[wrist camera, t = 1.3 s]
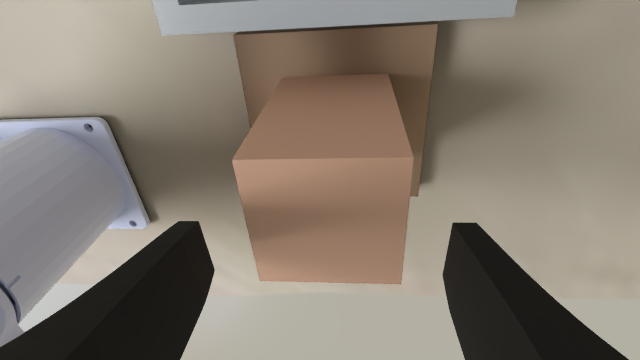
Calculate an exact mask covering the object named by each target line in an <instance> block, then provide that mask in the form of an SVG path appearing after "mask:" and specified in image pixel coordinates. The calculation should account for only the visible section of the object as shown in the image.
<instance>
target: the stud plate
mask: <svg viewBox="0 0 640 360" xmlns="http://www.w3.org/2000/svg"><path fill="white" fill-rule="evenodd" d="M437 28H438V24H437V23H436V22H434V21H425V22H407V23H388V24H370V25H351V26H333V27H314V28H296V29H277V30H259V31H240V32H237V33H236V34H234V35H233V36H234V41H235V47H236V52H237V58H238V63H239V68H240V74H241V79H242V84H243V90H244V95H245V100H246V106H247V111H248V116H249V122H250V127H252V126H253V124H254V123H255V121H256V119H257V118H258V116H259V114H260V113H261V111H262V110H263V108H264V106H265V105H266V103H267V101H268V100H269V98H270V97H271V95H272V93H273V92H274V90H275V88H276V87H277V85H278V83H279V82H280V80H281V79H282V78H286V77H312V76H337V75H363V74H388V75H389V78H390V81H391V85H392V88H393V91H394V95H395V98H396V101H397V104H398V108H399V111H400V114H401V118H402V121H403V124H404V127H405V131H406V134H407V137H408V140H409V144H410V147H411V150H412V154H413V157H414V159H413V169H412V179H411V189H410V196H418V193H419V184H420V175H421V167H422V158H423V149H424V141H425V132H426V124H427V115H428V106H429V98H430V89H431V80H432V72H433V63H434V54H435V46H436V37H437Z"/></svg>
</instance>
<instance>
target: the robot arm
mask: <svg viewBox="0 0 640 360" xmlns="http://www.w3.org/2000/svg"><path fill="white" fill-rule="evenodd" d="M88 124H90V125H91V126H92V127H93V129H92V128H90V126H89V125H88ZM134 221H135V222H134ZM149 224H150V220H149V218H148V215H147V213H146V211H145V208H144V206H143V204H142V201H141V199H140V197H139V195H138V192H137V190H136V188H135V185H134V183H133V181H132V178H131V176H130V174H129V171H128V169H127V167H126V164H125V162H124V160H123V157H122V155H121V153H120V150H119V148H118V146H117V143H116V141H115V139H114V136H113V134H112V132H111V129H110V127H109V125H108V123H107V122H106V121H105V120H104V119H102V118H100V117H77V118H41V119H6V120H0V360H180V358H181V356H182V354H183V352H184V350H185V347H186V345H187V343H188V341H189V338H190V336H191V334H192V332H193V330H194V327H195V325H196V323H197V320H198V318H199V316H200V313H201V311H202V309H203V306H204V304H205V301H206V298H207V295H208V292H209V289H210V285H211V282H212V278H213V275H214V271H215V270H214V267H213V264H212V260H211V257H210V254H209V251H208V248H207V245H206V242H205V239H204V236H203V233H202V230H201V227H200V224H199V221H178V222H177V223H176V224H174V225H173V226H171V227H170V228H169V229H167V230H166V231H165V232H163V233H162V234H161V235H160V236H158V237H157V238H156V239H154V240H153V241H152V242H151V243H149V244H148V245H147V246H146V247H144V248H143V249H142V250H141V251H139V252H138V253H137V254H135V255H134V256H133V257H132V258H130V259H129V260H128V261H126V262H125V263H124V264H123V265H121V266H120V267H119V268H117V269H116V270H115V271H113V272H112V273H111V274H109V275H108V276H107V277H105V278H104V279H103V280H101V281H100V282H98V283H97V284H96V285H94V286H93V287H92V288H90V289H89V290H88V291H86V292H85V293H83V294H82V295H81V296H79V297H78V298H76V299H75V300H74V301H72V302H71V303H69V304H68V305H66V306H65V307H63V308H62V309H61V310H59V311H57V312H56V313H54V314H53V315H51V316H50V317H49V318H47V319H45V320H44V321H42V322H41V323H39V324H37V325H36V326H34V327H33V328H31V329H29V330H28V331H26V332H24V331H23V330H22V329H21V328H20V327H19V325H18V324H19V323H20V321H21V320H22V319H23V318H24V317H25V316H26V315H27V314H28V313H29V312H30V311H31V310H32V308H33V307H34V306H35V305H36V304H37V303H38V302H39V301H40V300H41V299H42V298H43V297H44V296H45V294H46V293H47V292H48V291H49V290H50V289H51V288H52V287H53V286H54V285H55V284H56V283H57V281H58V280H59V279H60V278H61V277H62V276H63V275H64V274H65V273H66V272H67V271H68V270H69V268H70V267H71V266H72V265H73V264H74V263H75V262H76V261H77V260H78V259H79V258H80V257H81V255H82V254H83V253H84V252H85V251H86V250H87V249H88V248H89V247H90V246H91V245H92V244H93V243H94V241H95V240H96V239H97V238H98V237H99V236H100V235H101V234H102V233H103V232H104V231H105V230H106V228H111V229H145V228H147V227H148V225H149ZM443 279H444V285H445V290H446V296H447V300H448V305H449V310H450V313H451V317H452V320H453V323H454V326H455V329H456V333H457V336H458V339H459V342H460V345H461V348H462V351H463V355H464V358H465V360H628V359H627V358H626V357H625V356H623V355H622V354H621V353H619V352H618V351H617V350H616V349H614V348H613V347H611V346H610V345H609V344H608V343H607V342H605V341H604V340H603V339H601V338H600V337H599V336H598V335H596V334H595V333H594V332H593V331H591V330H590V329H589V328H588V327H587V326H585V325H584V324H583V323H582V322H581V321H579V320H578V319H577V318H576V317H575V316H573V315H572V314H571V313H570V312H569V311H568V310H567V309H566V308H564V307H563V306H562V305H561V304H560V303H558V302H557V301H556V300H555V299H554V298H553V297H552V296H551V295H550V294H548V293H547V292H546V291H545V290H544V289H543V288H542V287H541V286H540V285H539V284H538V283H537V282H536V281H534V280H533V279H532V278H531V277H530V276H529V275H528V274H527V273H526V272H525V271H524V270H523V269H522V268H521V267H520V266H519V265H518V264H517V263H516V262H515V261H514V260H513V259H512V258H511V257H510V256H509V255H508V254H507V253H506V252H505V251H504V250H503V249H502V248H501V247H500V246H499V245H498V244H497V243H496V242H495V241H494V240H493V239H492V238H491V237H490V236H489V235H488V234H487V233H486V232H485V231H484V230H483V229H482V228H481V227H480V226H479V225H478V224H477V223H453V224H452V230H451V235H450V240H449V245H448V250H447V255H446V261H445V266H444V271H443Z"/></svg>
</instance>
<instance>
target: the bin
mask: <svg viewBox="0 0 640 360" xmlns="http://www.w3.org/2000/svg"><path fill="white" fill-rule="evenodd" d="M152 4H153V7H154V10H155V14H156V17H157V21H158V24H159V28H160V31H161V34H162V36H166V35H185V34H203V33H222V32H240V31H259V30H277V29H296V28H314V27H333V26H351V25H370V24H388V23H407V22H425V21H444V20H462V19H481V18H499V17H514V13H515V9H516V4H517V0H152Z"/></svg>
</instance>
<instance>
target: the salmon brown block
mask: <svg viewBox="0 0 640 360" xmlns="http://www.w3.org/2000/svg"><path fill="white" fill-rule="evenodd" d="M413 159H414V157H413V154H412V150H411V147H410V144H409V140H408V137H407V134H406V131H405V127H404V124H403V121H402V118H401V114H400V111H399V108H398V104H397V101H396V98H395V95H394V91H393V88H392V85H391V81H390V78H389V75H388V74H363V75H337V76H312V77H286V78H282V79H281V80H280V82H279V83H278V85H277V87H276V88H275V90H274V92H273V93H272V95H271V97H270V98H269V100H268V101H267V103H266V105H265V106H264V108H263V110H262V111H261V113H260V114H259V116H258V118H257V119H256V121H255V123H254V124H253V126H252V127H251V129H250V131H249V132H248V134H247V136H246V137H245V139H244V141H243V142H242V144H241V145H240V147H239V149H238V150H237V152H236V154H235V155H234V157H233V158H232V164H233V168H234V172H235V177H236V181H237V185H238V190H239V194H240V198H241V202H242V207H243V211H244V215H245V220H246V224H247V228H248V233H249V237H250V241H251V245H252V250H253V254H254V258H255V263H256V267H257V271H258V276H259V280H260V281H288V282H328V283H369V284H401V280H402V270H403V260H404V249H405V239H406V229H407V219H408V209H409V199H410V189H411V179H412V169H413Z"/></svg>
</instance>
